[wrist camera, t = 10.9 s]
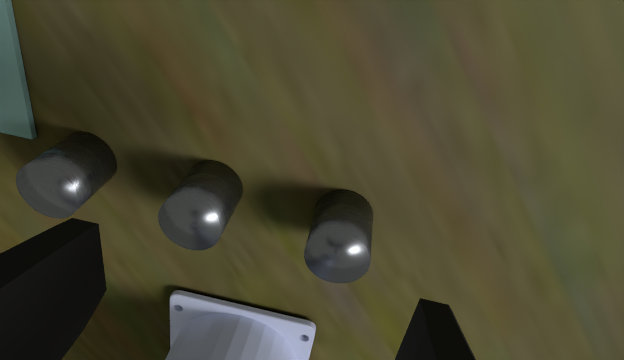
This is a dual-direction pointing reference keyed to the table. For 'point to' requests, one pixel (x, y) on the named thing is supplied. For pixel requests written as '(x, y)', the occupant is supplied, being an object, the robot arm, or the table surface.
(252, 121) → the table surface
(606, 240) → the table surface
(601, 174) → the table surface
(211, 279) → the table surface
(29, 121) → the mat
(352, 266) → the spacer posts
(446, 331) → the robot arm
